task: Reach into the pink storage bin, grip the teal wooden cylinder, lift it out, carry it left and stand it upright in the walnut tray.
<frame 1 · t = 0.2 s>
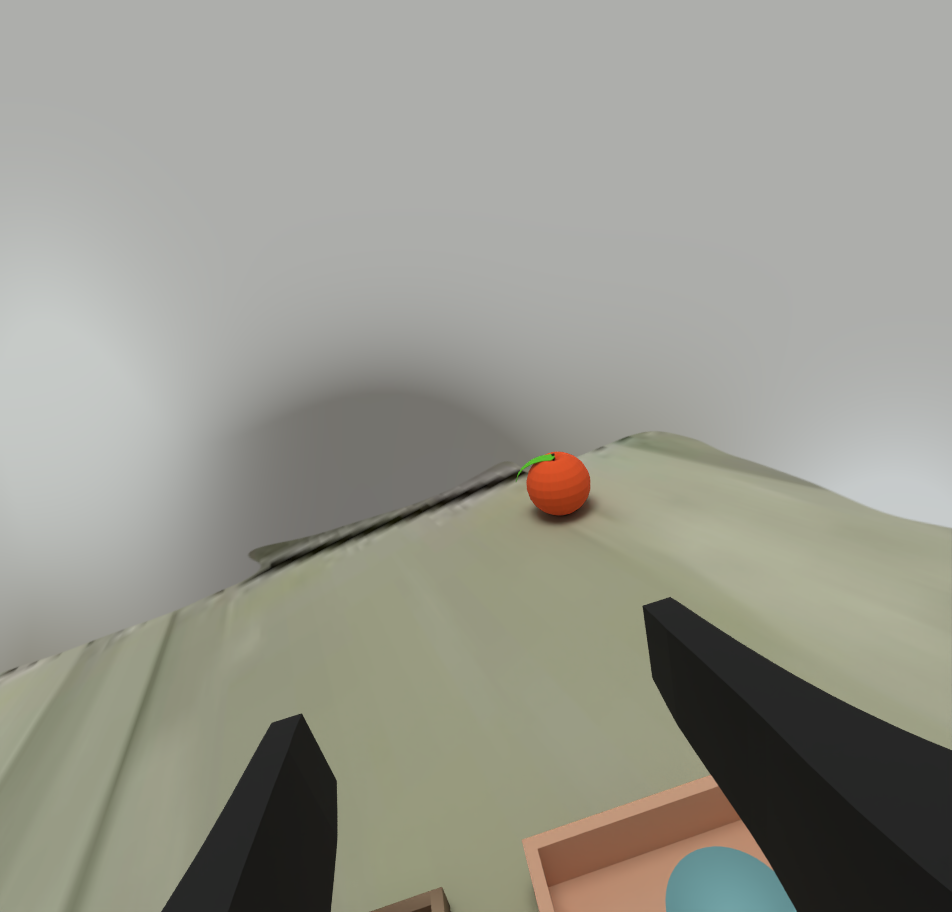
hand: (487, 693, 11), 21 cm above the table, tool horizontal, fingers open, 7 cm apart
clementine: (559, 513, 59), on the table
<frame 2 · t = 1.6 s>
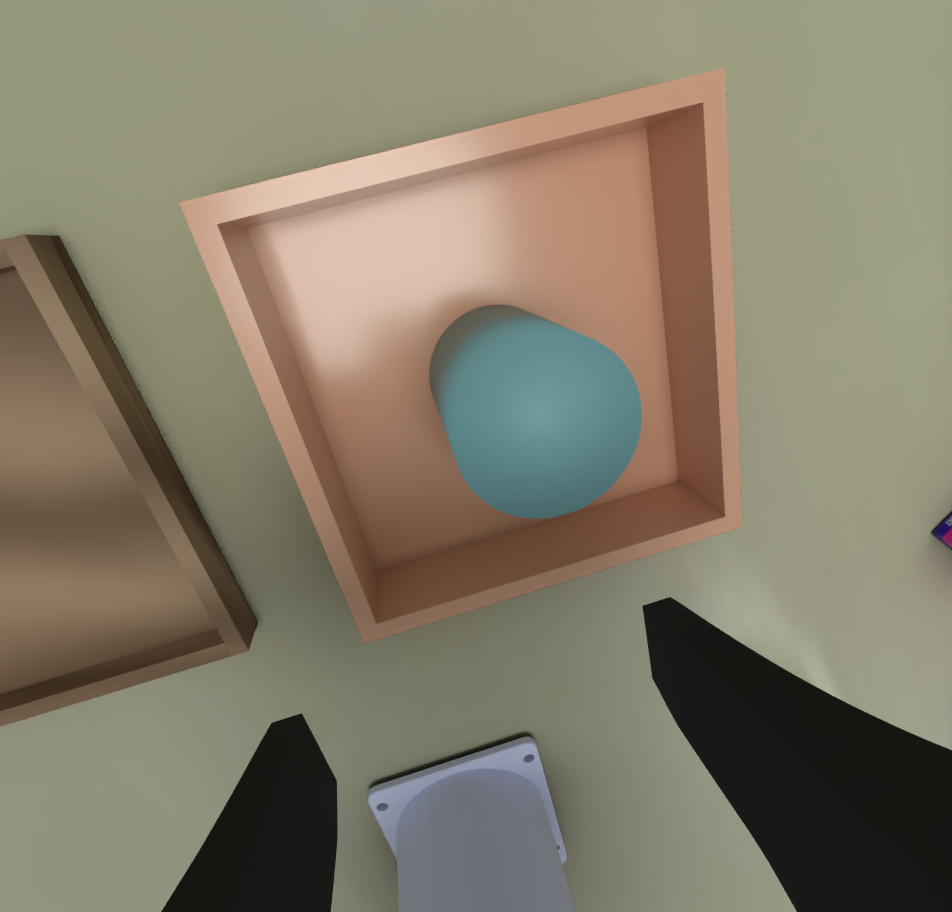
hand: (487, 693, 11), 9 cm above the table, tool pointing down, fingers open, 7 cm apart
pink storage bin: (493, 371, 18), on the table
teal cylinder: (496, 374, 18), resting on pink storage bin
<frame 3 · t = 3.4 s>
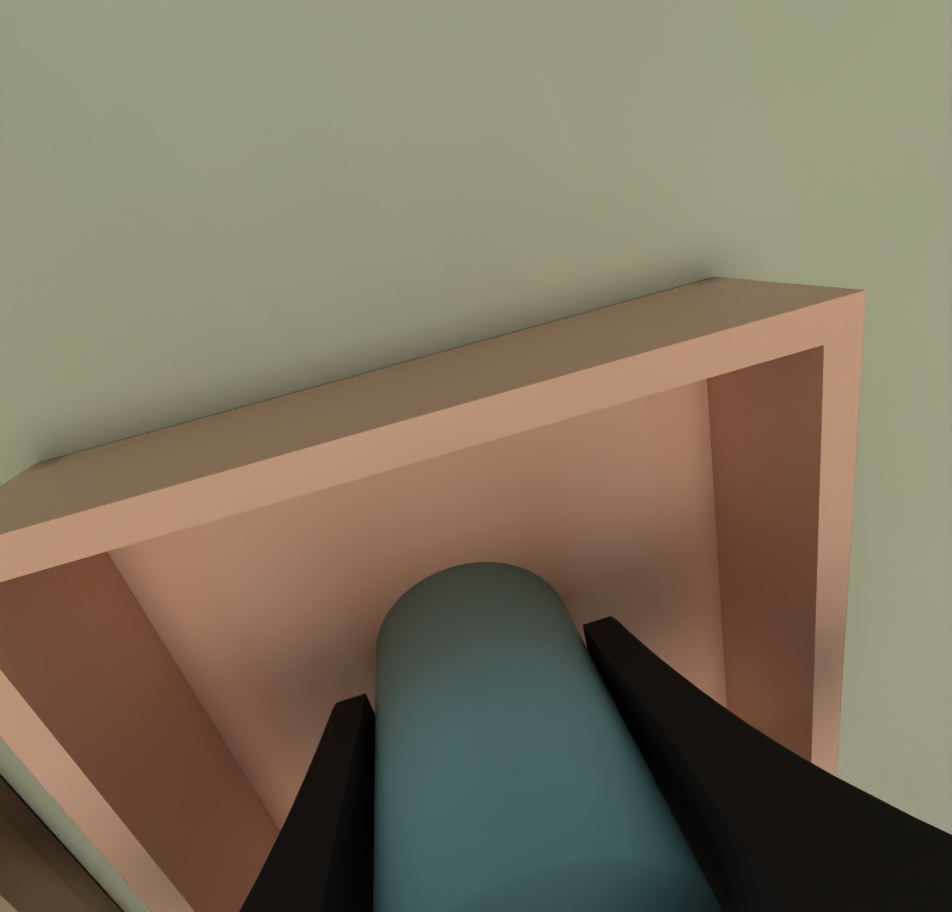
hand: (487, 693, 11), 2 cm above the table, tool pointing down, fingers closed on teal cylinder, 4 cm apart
pink storage bin: (472, 631, 13), on the table
teal cylinder: (475, 646, 12), resting on pink storage bin, touching gripper
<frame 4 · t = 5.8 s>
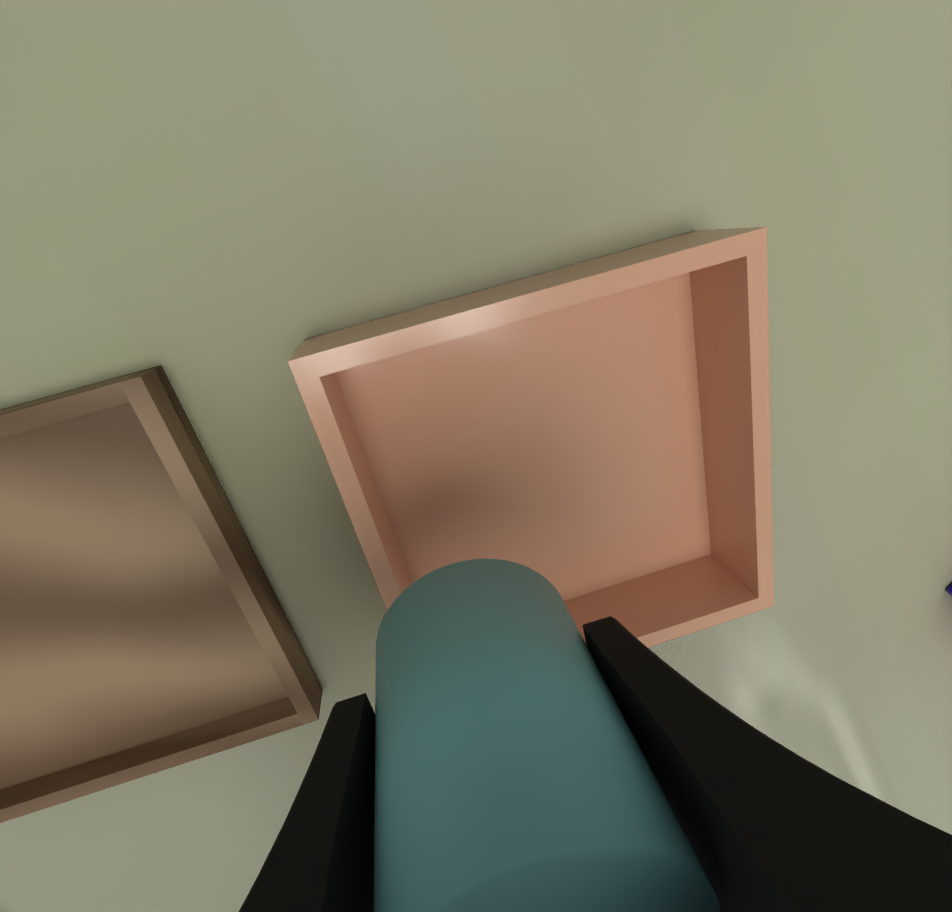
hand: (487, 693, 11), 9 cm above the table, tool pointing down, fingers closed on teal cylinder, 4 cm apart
pink storage bin: (543, 463, 20), on the table
teal cylinder: (475, 642, 12), point 8 cm above the table, touching gripper
tray: (57, 610, 19), on the table
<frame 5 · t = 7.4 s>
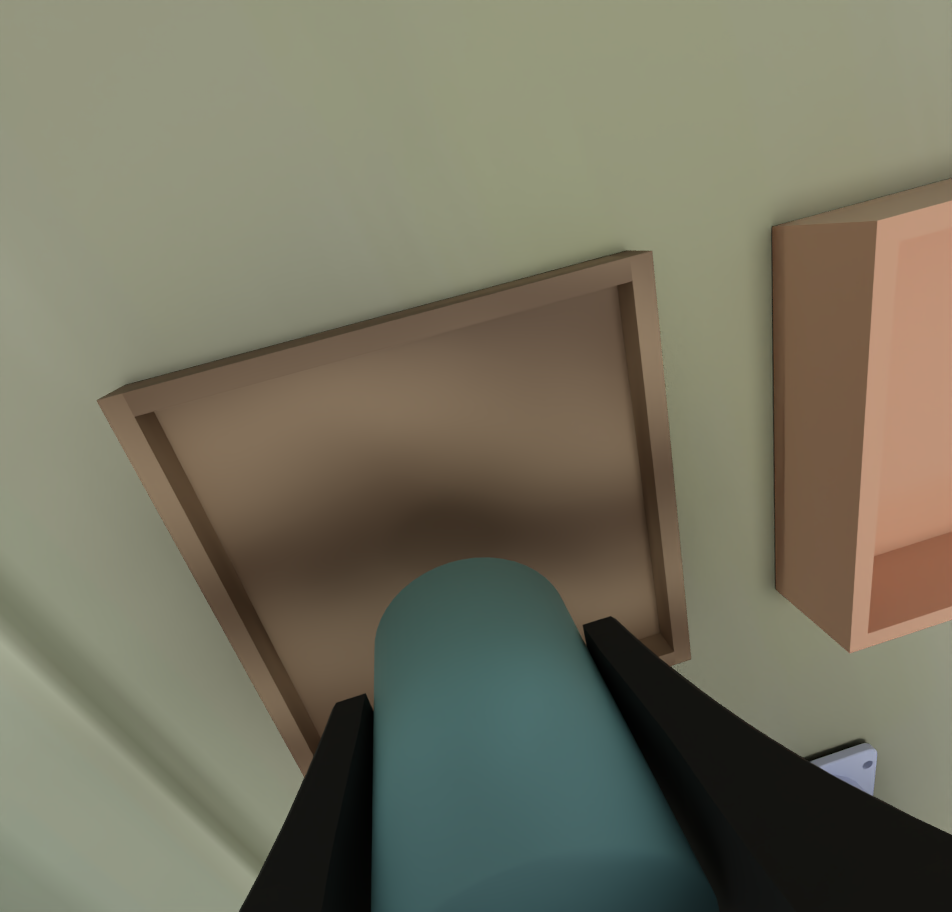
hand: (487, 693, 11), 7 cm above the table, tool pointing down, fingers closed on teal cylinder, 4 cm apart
pink storage bin: (950, 381, 18), on the table
teal cylinder: (474, 641, 12), point 5 cm above the table, touching gripper
tray: (448, 531, 17), on the table
when the fingers open (3 cm above the table, at t = 8.5 s): teal cylinder stays where it is, resting on tray.
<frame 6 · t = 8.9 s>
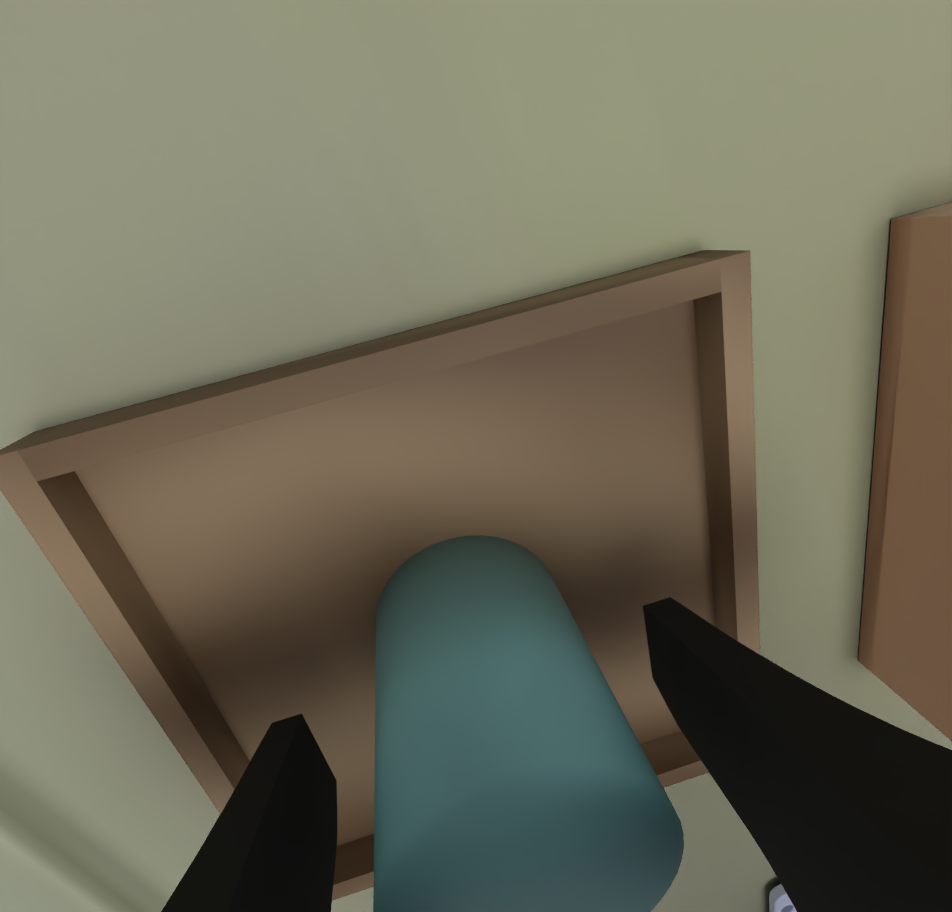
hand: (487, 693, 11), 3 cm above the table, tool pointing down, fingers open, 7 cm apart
teal cylinder: (468, 615, 13), point 1 cm above the table, touching tray
tray: (465, 605, 13), on the table
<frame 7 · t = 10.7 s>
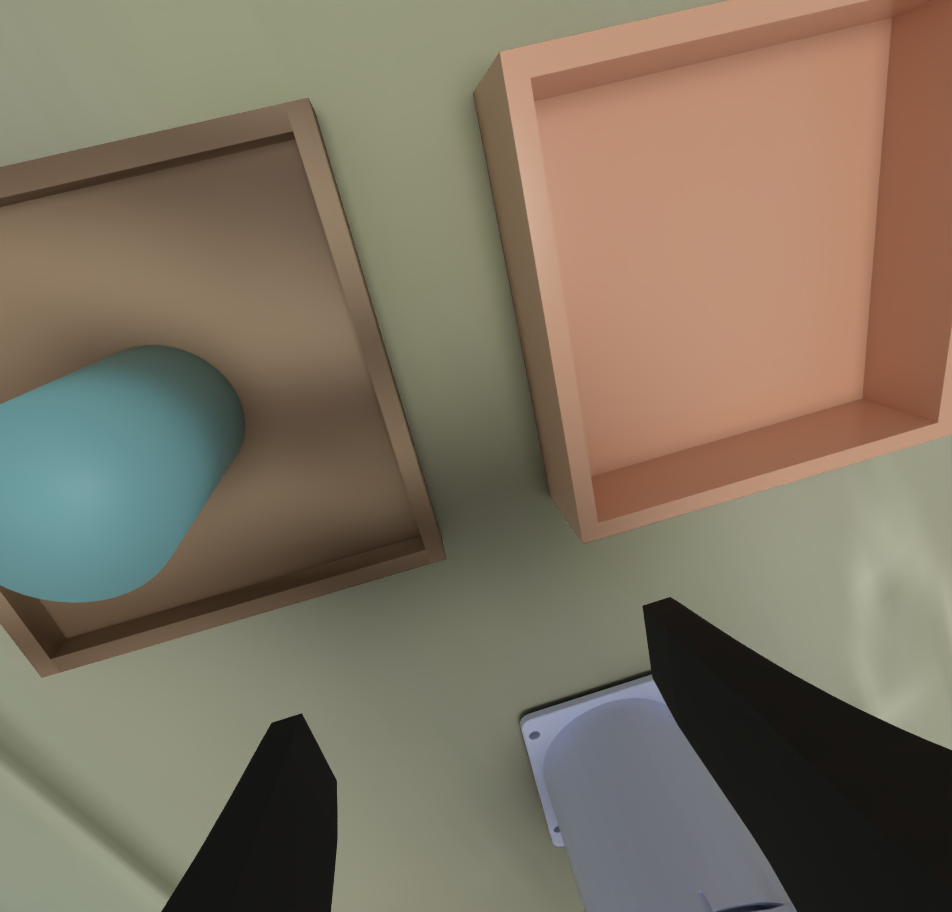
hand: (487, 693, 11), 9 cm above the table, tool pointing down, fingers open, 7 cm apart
pink storage bin: (702, 276, 18), on the table
teal cylinder: (166, 418, 16), point 1 cm above the table, touching tray
tray: (173, 416, 17), on the table
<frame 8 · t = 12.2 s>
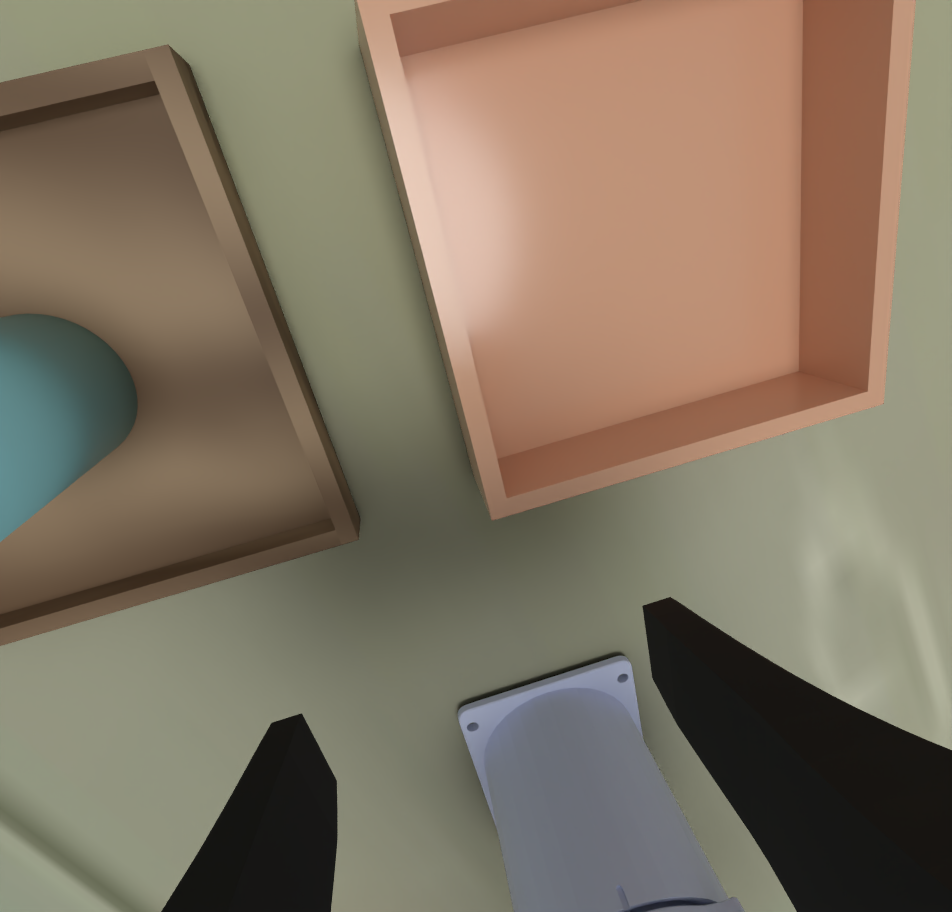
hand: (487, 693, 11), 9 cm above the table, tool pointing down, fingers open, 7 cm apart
pink storage bin: (620, 241, 17), on the table
teal cylinder: (51, 392, 15), point 1 cm above the table, touching tray
tray: (62, 390, 16), on the table
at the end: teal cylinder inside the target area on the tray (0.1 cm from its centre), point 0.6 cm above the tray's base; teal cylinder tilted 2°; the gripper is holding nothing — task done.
